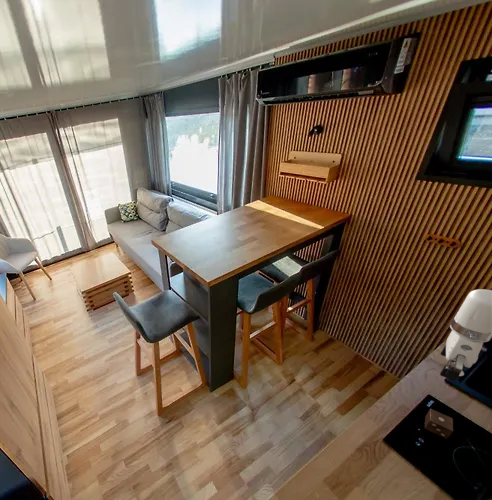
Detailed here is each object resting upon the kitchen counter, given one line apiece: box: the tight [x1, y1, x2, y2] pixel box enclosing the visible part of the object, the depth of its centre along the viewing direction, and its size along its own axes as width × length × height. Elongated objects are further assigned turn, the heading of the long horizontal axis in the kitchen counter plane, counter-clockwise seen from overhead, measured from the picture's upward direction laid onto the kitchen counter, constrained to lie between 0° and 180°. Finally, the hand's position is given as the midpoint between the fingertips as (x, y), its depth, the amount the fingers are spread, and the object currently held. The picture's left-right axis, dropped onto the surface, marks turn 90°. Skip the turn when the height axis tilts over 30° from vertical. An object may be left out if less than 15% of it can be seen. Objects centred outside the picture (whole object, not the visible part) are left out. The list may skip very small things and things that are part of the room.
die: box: [424, 408, 454, 440], centre depth 84 cm, size 5×5×5 cm
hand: (447, 366), depth 81 cm, fingers open, 9 cm apart
